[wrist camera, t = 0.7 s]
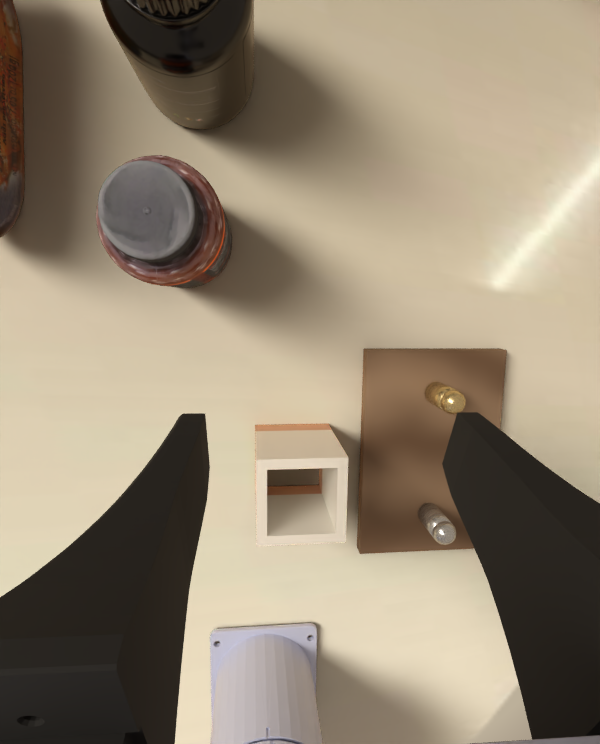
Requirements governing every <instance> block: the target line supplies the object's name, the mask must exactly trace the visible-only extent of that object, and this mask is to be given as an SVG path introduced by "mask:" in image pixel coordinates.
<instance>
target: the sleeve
mask: <svg viewBox="0 0 600 744" xmlns="http://www.w3.org/2000/svg"><path fill="white" fill-rule="evenodd" d="M315 468H319V485H299V486H267V470H279V469H315ZM255 486H256V542H257V546H278V545H301V544H323V543H346V521H347V487H348V456H347V454H346V453H345V451H344V449H343V448H342V446H341V444H340V443H339V441H338V439H337V438H336V436H335V434H334V433H333V431H332V429H331V427H330V426H329V424H285V425H255Z"/></svg>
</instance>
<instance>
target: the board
mask: <svg viewBox="0 0 600 744" xmlns="http://www.w3.org/2000/svg"><path fill="white" fill-rule="evenodd" d="M506 353H507V350H503V349H364V356H363V386H362V415H361V444H360V473H359V502H358V531H357V548H358V550H359V552H360V554H365V553H386V552H407V551H429V550H450V549H471V548H474V546H473V544H472V542H471V540H470V537H469V535H468V533H467V531H466V528H465V526H464V524H463V522H462V519H461V517H460V515H459V513H458V510H457V508H456V506H455V503H454V501H453V499H452V496H451V493H450V490H449V487H448V484H447V480H446V477H445V473H444V469H443V465H442V462H443V459H444V456H445V452H446V449H447V446H448V442H449V439H450V436H451V432H452V429H453V425H454V422H455V419H456V415H457V414H448V413H446V412H444V411H443V410H441V409H439V408H438V407H436V406H434V405H433V404H431V403H430V402H428V401H427V400H426V398H425V389H426V387H427V386H428V385H429V384H430V383H432V382H441V383H443V384H445V385H447V386H449V387H451V388H454V389H456V390H458V391H460V392H461V393H462V394H463V395H464V397H465V400H466V405H465V407H464V409H463V410H462V411H461V412H478V413H480V414H481V415H482V416H484V417H485V418H486V419H487V420H489V421H490V422H491V423H492V424H494V425H495V426H496V427H497V428H499V429H500V423H501V411H502V400H503V388H504V376H505V364H506ZM425 503H433V504H435V505H436V506H437V507H438V508H439V509H440V510H441V511H442V513H443V514H444V515H445V516H446V517H447V518H448V519H449V521H450V522H451V523H452V524H453V525H454V527H455V529H456V538H455V540H454V541H453V542H452V543H450V544H447V545H443V544H440V543H438V542H437V541H435V539H434V538H433V537H432V535H431V534H430V533H429V531H428V530H427V529H426V527H425V526H424V525H423V523H422V522H421V521H420V519H419V518H418V510H419V508H420V507H421V506H422V505H423V504H425Z"/></svg>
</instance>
